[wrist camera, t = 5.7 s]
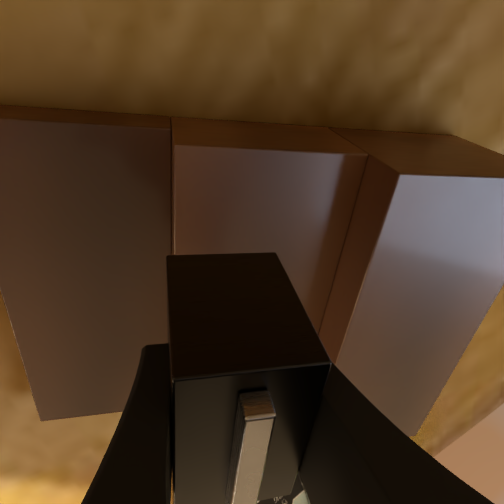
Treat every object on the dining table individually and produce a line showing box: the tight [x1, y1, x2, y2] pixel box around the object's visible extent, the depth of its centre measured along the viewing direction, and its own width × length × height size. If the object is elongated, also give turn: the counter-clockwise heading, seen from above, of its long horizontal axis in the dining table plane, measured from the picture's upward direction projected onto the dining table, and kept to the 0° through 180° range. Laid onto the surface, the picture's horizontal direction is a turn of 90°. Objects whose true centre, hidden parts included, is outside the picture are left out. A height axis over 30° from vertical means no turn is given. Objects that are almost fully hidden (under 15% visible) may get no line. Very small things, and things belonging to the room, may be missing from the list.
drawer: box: [166, 252, 332, 504], centre depth 9 cm, size 3×5×5 cm, turn 173°
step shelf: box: [0, 105, 504, 437], centre depth 17 cm, size 21×16×6 cm
